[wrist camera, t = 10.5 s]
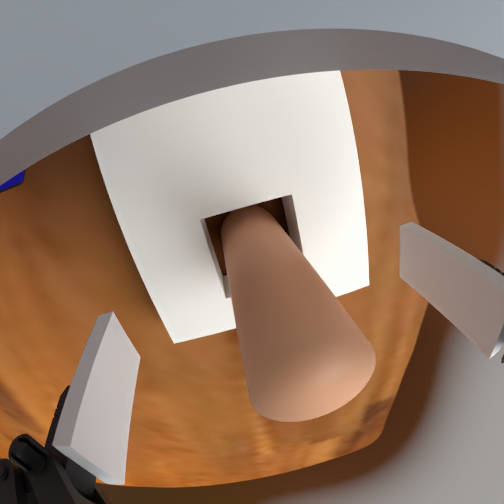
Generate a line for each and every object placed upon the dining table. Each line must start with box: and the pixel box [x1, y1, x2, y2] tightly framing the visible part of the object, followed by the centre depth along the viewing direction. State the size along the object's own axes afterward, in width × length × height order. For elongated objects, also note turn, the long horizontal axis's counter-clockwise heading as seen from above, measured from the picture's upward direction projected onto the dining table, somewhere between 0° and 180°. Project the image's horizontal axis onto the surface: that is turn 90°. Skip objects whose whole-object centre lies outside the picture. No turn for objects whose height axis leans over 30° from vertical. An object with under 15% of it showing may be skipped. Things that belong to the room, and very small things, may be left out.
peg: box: [221, 205, 376, 422], centre depth 13 cm, size 4×4×13 cm
